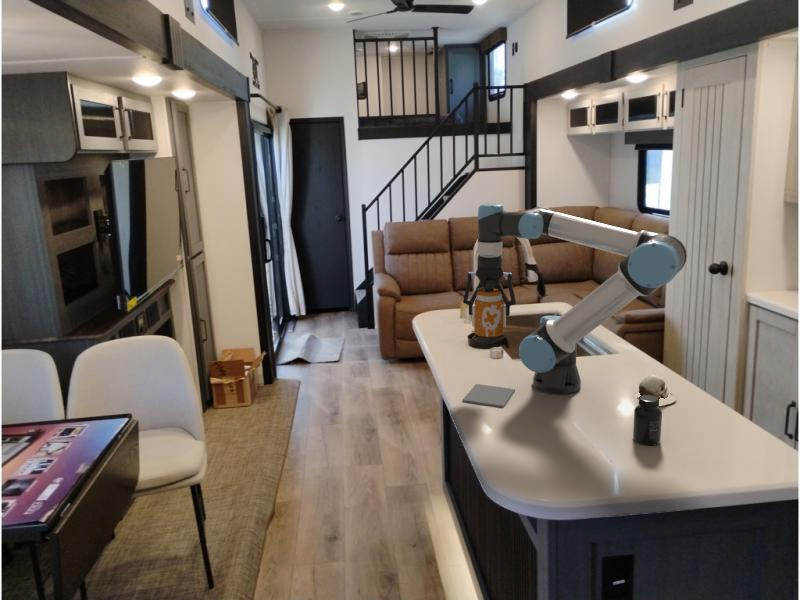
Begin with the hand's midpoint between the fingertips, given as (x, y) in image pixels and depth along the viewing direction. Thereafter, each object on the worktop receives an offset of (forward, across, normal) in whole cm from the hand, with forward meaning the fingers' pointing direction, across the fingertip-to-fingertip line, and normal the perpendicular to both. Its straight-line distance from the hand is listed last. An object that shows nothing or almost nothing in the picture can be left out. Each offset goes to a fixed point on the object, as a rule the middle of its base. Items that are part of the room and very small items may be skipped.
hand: (489, 325), depth 199 cm
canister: (+5, 0, 0) cm, 5 cm away
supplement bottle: (+22, -43, +30) cm, 57 cm away
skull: (+22, -51, +2) cm, 55 cm away
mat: (+21, -1, +6) cm, 22 cm away
